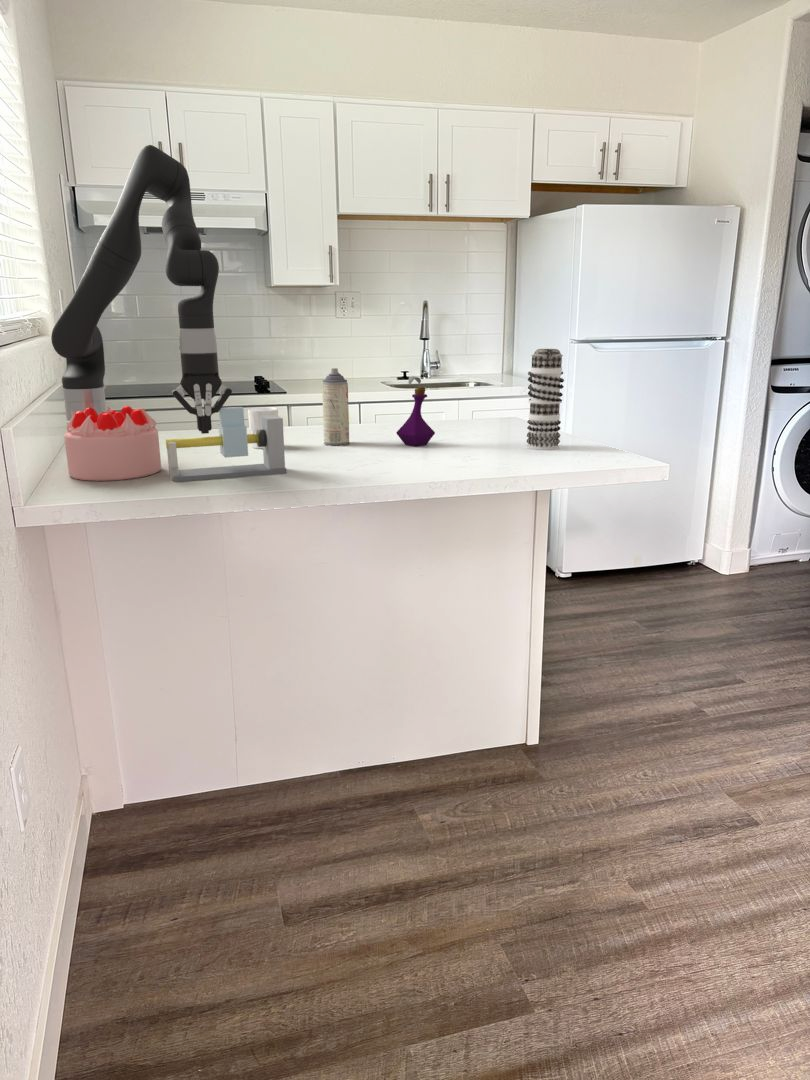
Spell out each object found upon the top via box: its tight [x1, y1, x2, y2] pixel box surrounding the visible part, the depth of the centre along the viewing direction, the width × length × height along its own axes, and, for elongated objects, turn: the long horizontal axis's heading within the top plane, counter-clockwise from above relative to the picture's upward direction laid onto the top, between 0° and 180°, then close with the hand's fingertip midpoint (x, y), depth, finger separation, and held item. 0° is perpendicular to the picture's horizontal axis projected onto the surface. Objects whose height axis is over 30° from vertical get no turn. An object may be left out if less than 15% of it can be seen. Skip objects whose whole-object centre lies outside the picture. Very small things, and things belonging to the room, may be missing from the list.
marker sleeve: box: [217, 406, 249, 458], centre depth 173 cm, size 5×6×10 cm
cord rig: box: [165, 415, 287, 483], centre depth 173 cm, size 25×8×12 cm, turn 112°
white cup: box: [247, 406, 279, 450], centre depth 209 cm, size 8×8×10 cm
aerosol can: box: [321, 367, 350, 447], centre depth 211 cm, size 7×7×20 cm
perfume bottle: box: [396, 376, 436, 448], centre depth 209 cm, size 8×8×18 cm
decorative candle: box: [526, 348, 565, 451], centre depth 203 cm, size 9×9×25 cm
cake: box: [63, 405, 162, 482], centre depth 176 cm, size 20×20×14 cm
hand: (205, 433), depth 171 cm, fingers closed
